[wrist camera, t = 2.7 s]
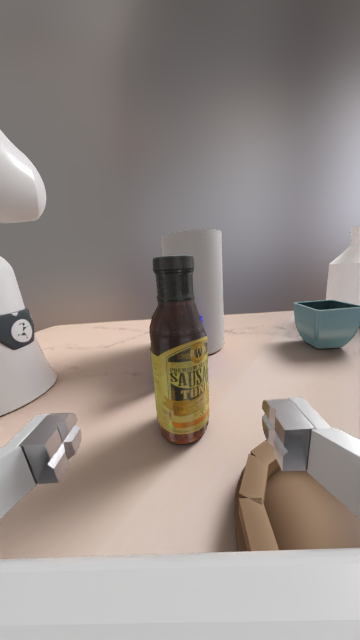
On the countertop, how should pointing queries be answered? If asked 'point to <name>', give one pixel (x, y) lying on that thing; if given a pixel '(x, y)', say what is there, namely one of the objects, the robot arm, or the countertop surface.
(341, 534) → the tray
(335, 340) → the flower pot
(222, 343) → the cylinder vase
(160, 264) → the sauce bottle
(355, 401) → the countertop surface
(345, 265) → the bottle
